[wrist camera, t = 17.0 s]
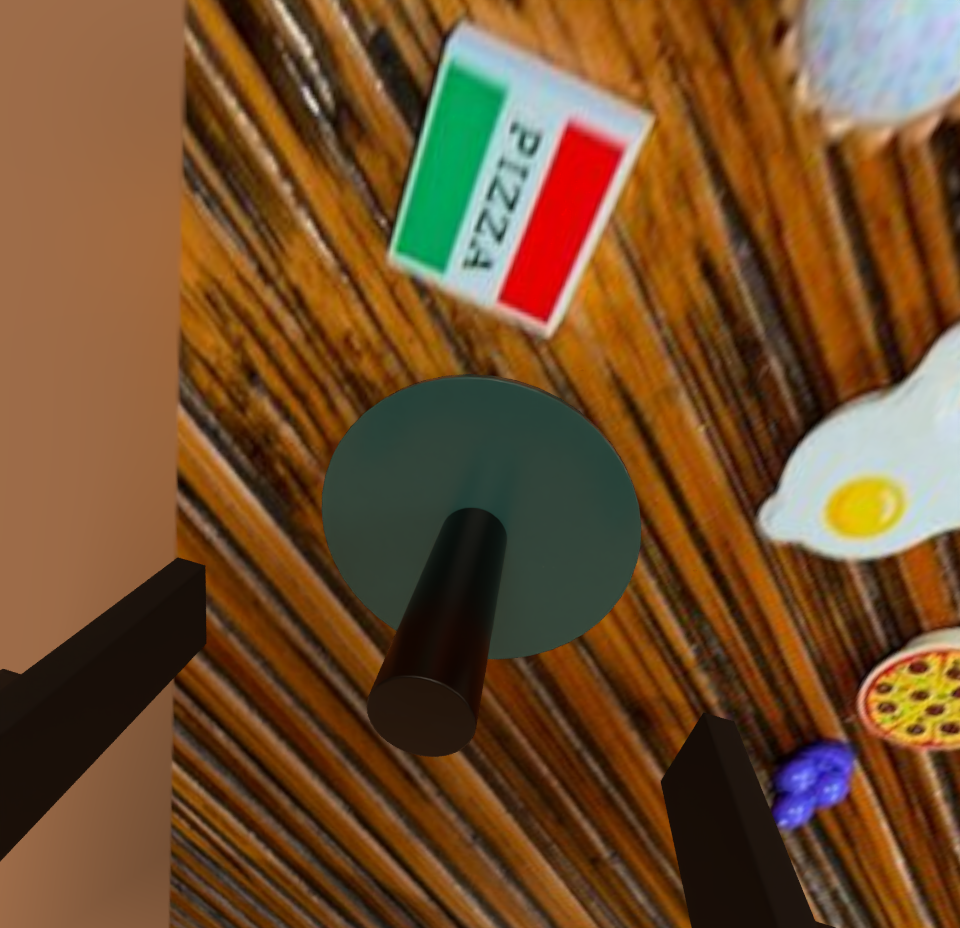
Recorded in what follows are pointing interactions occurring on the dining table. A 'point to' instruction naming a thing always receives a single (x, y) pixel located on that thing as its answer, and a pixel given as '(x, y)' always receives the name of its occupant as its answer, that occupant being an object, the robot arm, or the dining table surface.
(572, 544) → the lid
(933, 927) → the dining table surface
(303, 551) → the dining table surface
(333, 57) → the dining table surface
